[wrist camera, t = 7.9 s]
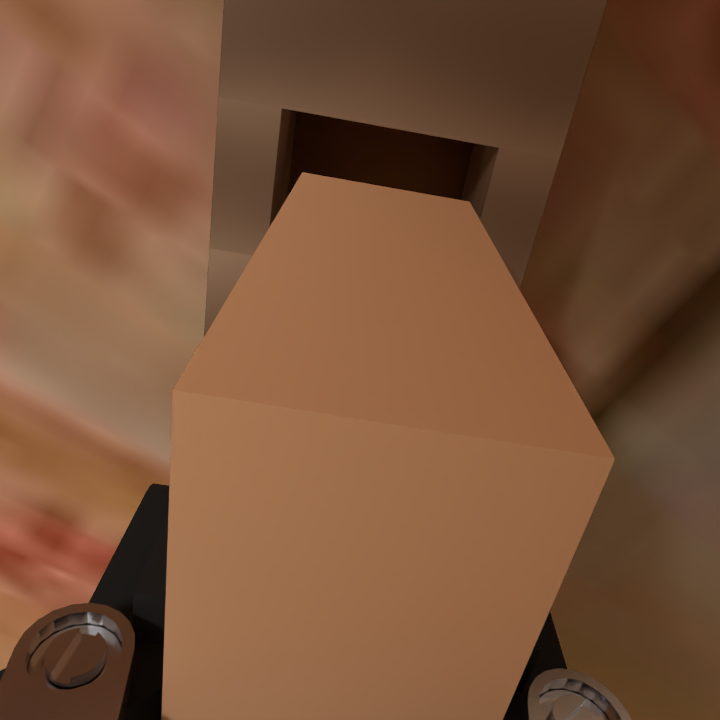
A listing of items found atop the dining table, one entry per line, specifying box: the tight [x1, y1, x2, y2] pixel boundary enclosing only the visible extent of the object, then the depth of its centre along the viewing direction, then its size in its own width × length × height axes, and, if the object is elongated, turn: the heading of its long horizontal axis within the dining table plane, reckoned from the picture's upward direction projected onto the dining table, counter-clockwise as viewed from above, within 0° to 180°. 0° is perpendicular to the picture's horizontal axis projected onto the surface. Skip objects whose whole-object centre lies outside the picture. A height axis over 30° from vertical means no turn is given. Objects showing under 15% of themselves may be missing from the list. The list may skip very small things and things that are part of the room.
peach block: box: [161, 172, 615, 720], centre depth 11 cm, size 10×4×9 cm, turn 170°
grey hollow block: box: [204, 0, 608, 337], centre depth 19 cm, size 20×8×4 cm, turn 170°
